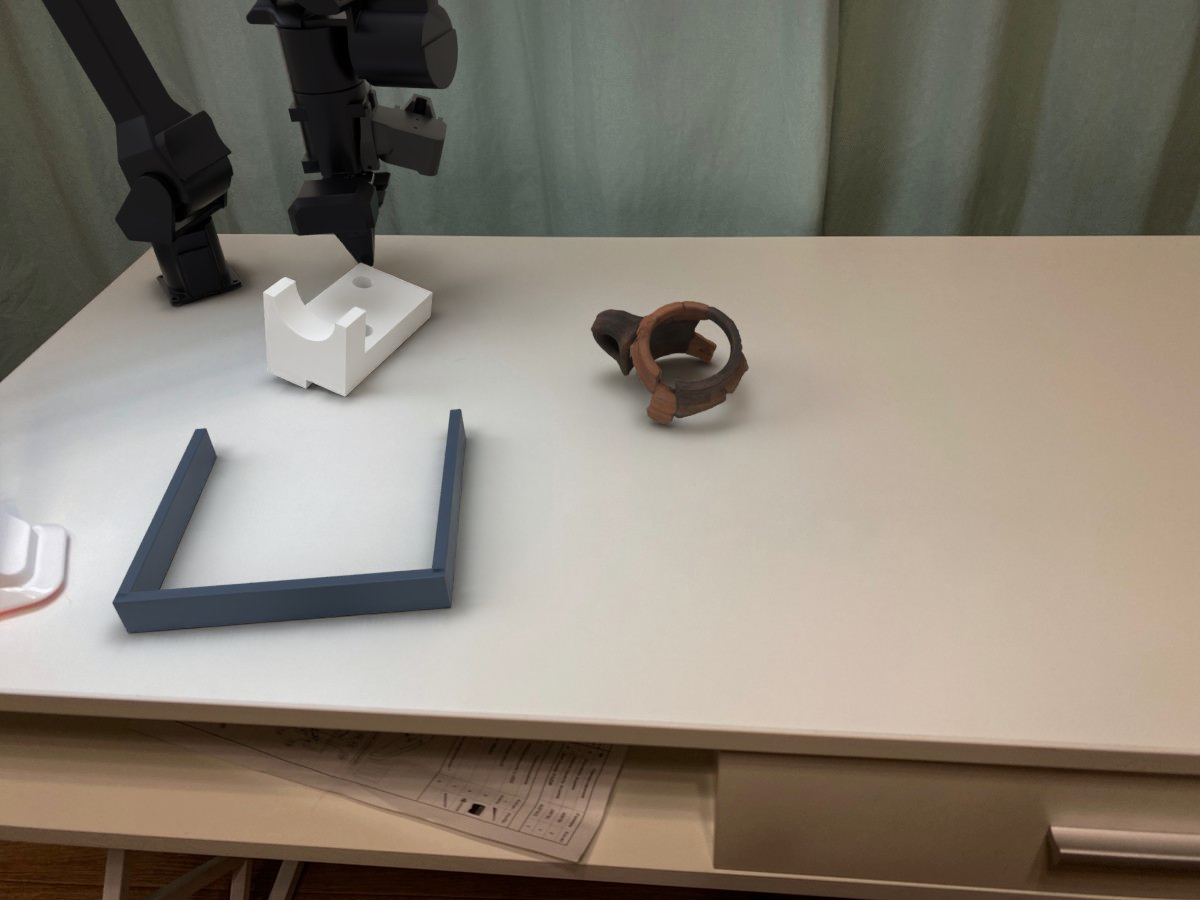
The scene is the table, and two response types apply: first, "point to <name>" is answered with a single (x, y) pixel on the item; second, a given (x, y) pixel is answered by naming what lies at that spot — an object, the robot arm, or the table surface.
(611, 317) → the pottery mug
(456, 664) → the table surface
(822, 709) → the table surface
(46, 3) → the robot arm
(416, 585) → the open blue frame
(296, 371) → the bracket
